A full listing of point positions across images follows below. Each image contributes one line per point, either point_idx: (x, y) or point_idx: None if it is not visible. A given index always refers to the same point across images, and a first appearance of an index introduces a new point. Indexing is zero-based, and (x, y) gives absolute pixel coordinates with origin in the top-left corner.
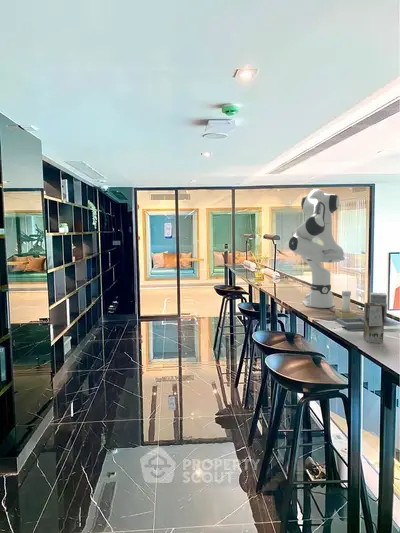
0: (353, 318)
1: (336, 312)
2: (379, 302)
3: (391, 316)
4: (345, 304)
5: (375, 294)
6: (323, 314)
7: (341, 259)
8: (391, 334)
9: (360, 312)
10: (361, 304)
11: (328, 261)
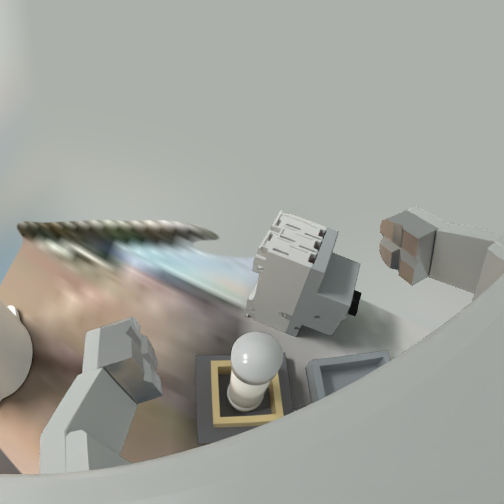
0: (324, 392)
1: (225, 424)
2: (328, 270)
3: (203, 235)
4: (266, 388)
5: (318, 255)
6: (129, 438)
7: (436, 270)
8: (421, 335)
9: (127, 286)
10: (39, 229)
11: (144, 398)
